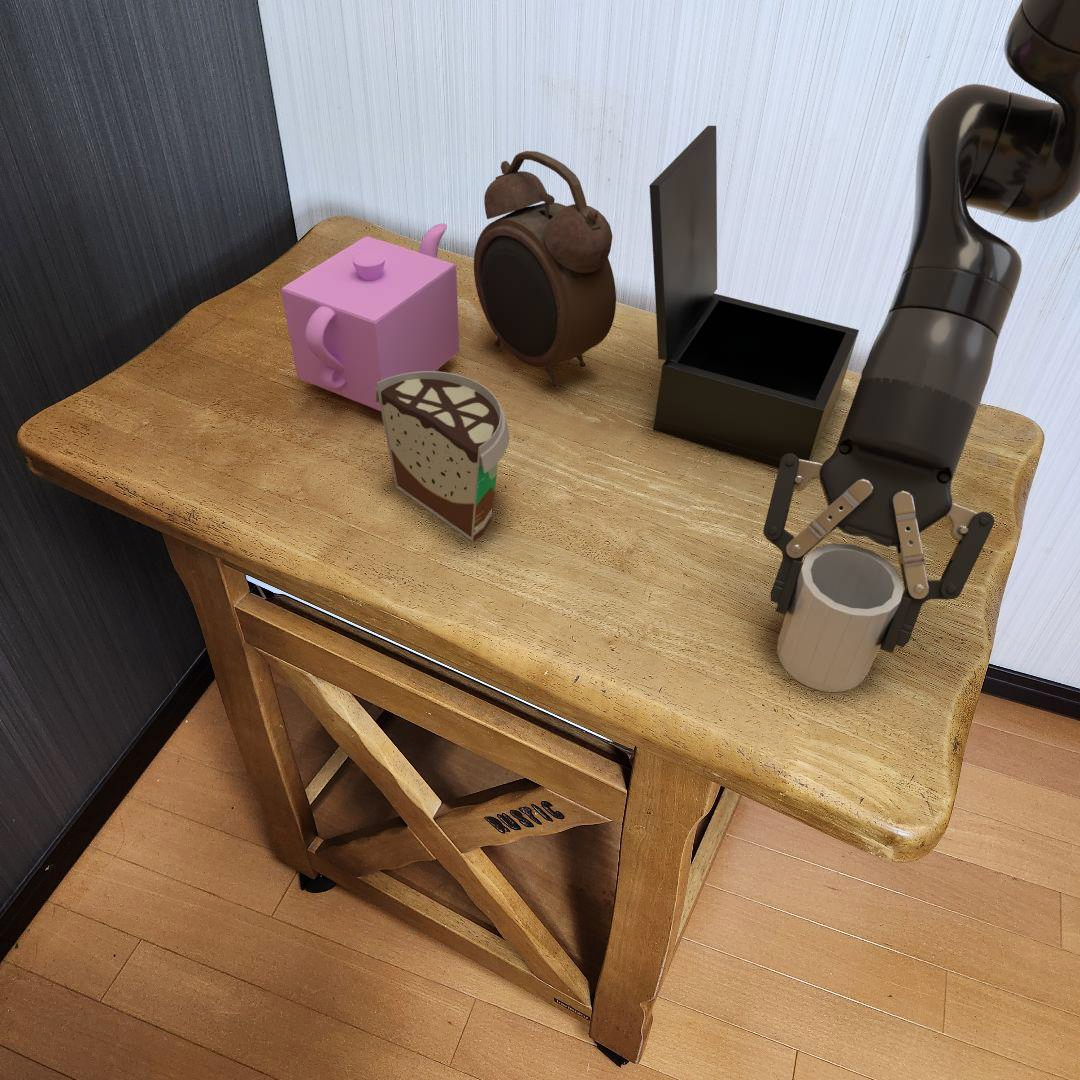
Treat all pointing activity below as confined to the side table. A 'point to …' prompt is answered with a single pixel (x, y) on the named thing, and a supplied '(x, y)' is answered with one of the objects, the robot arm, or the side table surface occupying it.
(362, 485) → the side table surface
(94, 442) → the side table surface
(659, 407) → the black square box
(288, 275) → the side table surface
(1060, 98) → the robot arm
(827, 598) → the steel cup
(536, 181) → the alarm clock
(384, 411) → the food container
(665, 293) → the black box lid
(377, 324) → the teapot
